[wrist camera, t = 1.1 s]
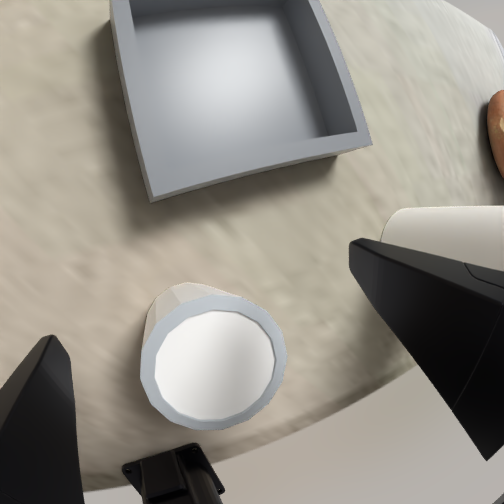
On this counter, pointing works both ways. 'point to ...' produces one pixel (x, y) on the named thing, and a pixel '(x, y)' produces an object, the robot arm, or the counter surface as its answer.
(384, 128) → the counter surface
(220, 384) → the short white cylinder
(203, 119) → the tray
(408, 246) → the cylindrical container
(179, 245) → the counter surface
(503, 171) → the ceramic jug
